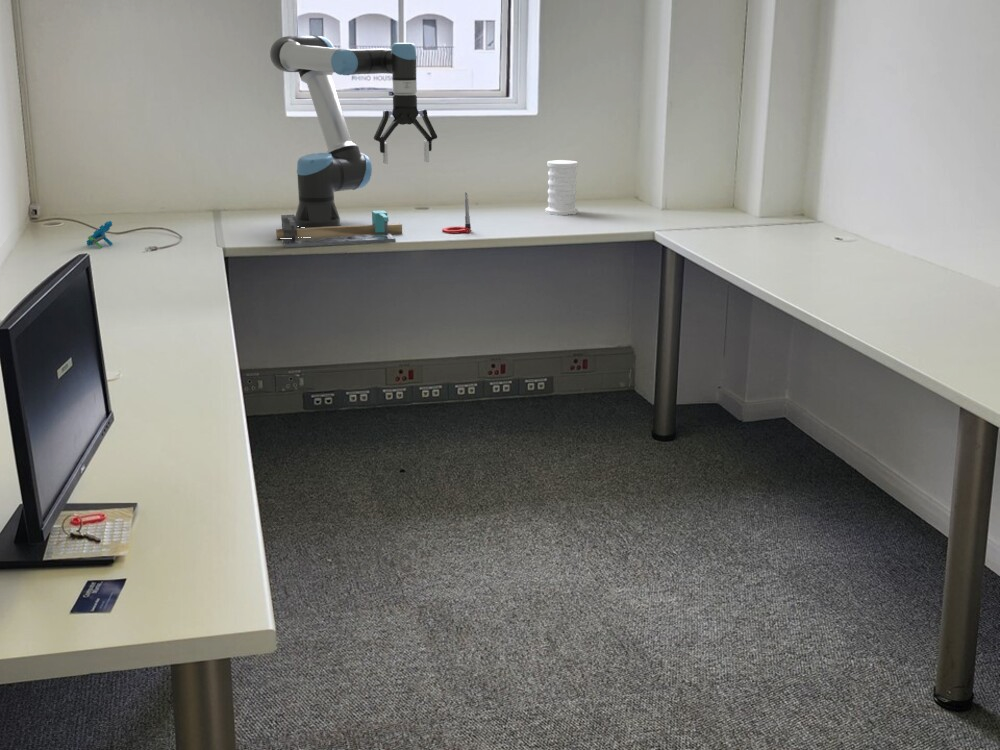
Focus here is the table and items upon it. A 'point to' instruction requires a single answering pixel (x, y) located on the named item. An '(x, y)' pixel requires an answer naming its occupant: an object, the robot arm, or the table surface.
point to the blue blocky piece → (100, 235)
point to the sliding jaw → (380, 221)
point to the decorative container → (562, 187)
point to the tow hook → (467, 221)
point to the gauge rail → (328, 229)
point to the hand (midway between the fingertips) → (406, 162)
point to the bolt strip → (338, 240)
